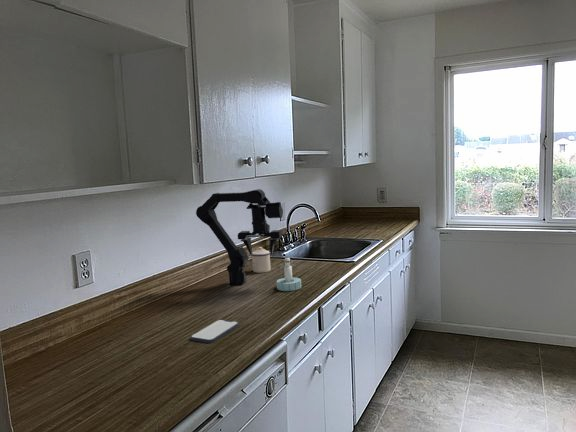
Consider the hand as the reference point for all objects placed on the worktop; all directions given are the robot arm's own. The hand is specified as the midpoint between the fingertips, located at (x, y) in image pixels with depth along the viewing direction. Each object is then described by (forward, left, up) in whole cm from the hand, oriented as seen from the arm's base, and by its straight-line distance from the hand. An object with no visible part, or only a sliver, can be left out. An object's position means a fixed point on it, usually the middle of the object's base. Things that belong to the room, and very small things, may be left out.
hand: (261, 254), depth 207 cm
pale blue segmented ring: (+13, -6, -13) cm, 19 cm away
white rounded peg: (+13, -6, -13) cm, 19 cm away
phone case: (+1, -58, -14) cm, 59 cm away
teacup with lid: (-9, +23, -13) cm, 28 cm away
